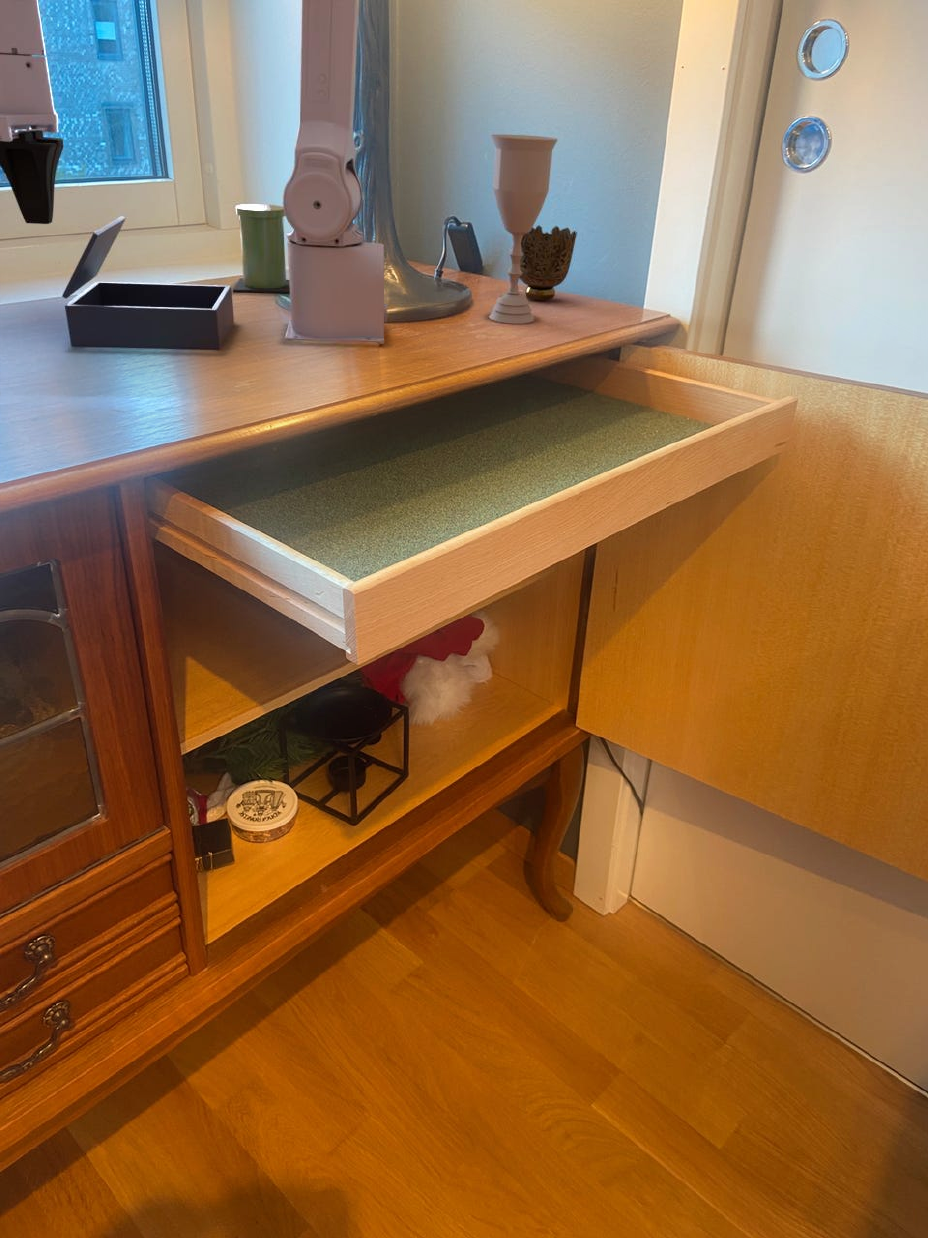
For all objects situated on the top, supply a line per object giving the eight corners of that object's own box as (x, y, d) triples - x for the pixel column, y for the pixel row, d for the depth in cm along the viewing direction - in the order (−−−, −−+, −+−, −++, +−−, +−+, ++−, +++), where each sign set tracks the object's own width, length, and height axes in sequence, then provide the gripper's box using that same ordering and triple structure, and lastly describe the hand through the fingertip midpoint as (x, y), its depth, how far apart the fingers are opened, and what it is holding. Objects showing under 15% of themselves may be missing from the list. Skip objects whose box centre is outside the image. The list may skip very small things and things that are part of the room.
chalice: (543, 327, 100) (560, 140, 91) (481, 324, 100) (491, 137, 91) (539, 312, 106) (555, 136, 97) (481, 309, 106) (490, 133, 97)
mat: (297, 284, 114) (297, 279, 114) (294, 295, 108) (293, 291, 108) (239, 282, 113) (239, 277, 113) (233, 293, 107) (232, 289, 107)
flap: (66, 298, 81) (61, 296, 80) (96, 275, 90) (92, 273, 90) (98, 235, 78) (93, 232, 78) (126, 217, 88) (122, 215, 88)
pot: (290, 280, 113) (287, 205, 109) (287, 289, 108) (283, 211, 104) (243, 279, 112) (238, 203, 108) (238, 288, 108) (232, 209, 103)
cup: (505, 302, 110) (510, 230, 106) (512, 290, 117) (517, 222, 113) (567, 307, 110) (575, 235, 106) (571, 295, 116) (578, 227, 112)
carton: (72, 351, 83) (64, 305, 81) (101, 323, 92) (95, 281, 90) (220, 355, 84) (216, 309, 82) (234, 326, 94) (231, 285, 92)
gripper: (-9, 53, 86) (19, 210, 93) (-72, 49, 74) (-34, 231, 81) (70, 57, 87) (92, 213, 94) (20, 55, 75) (50, 235, 82)
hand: (39, 222), depth 87 cm, fingers closed
